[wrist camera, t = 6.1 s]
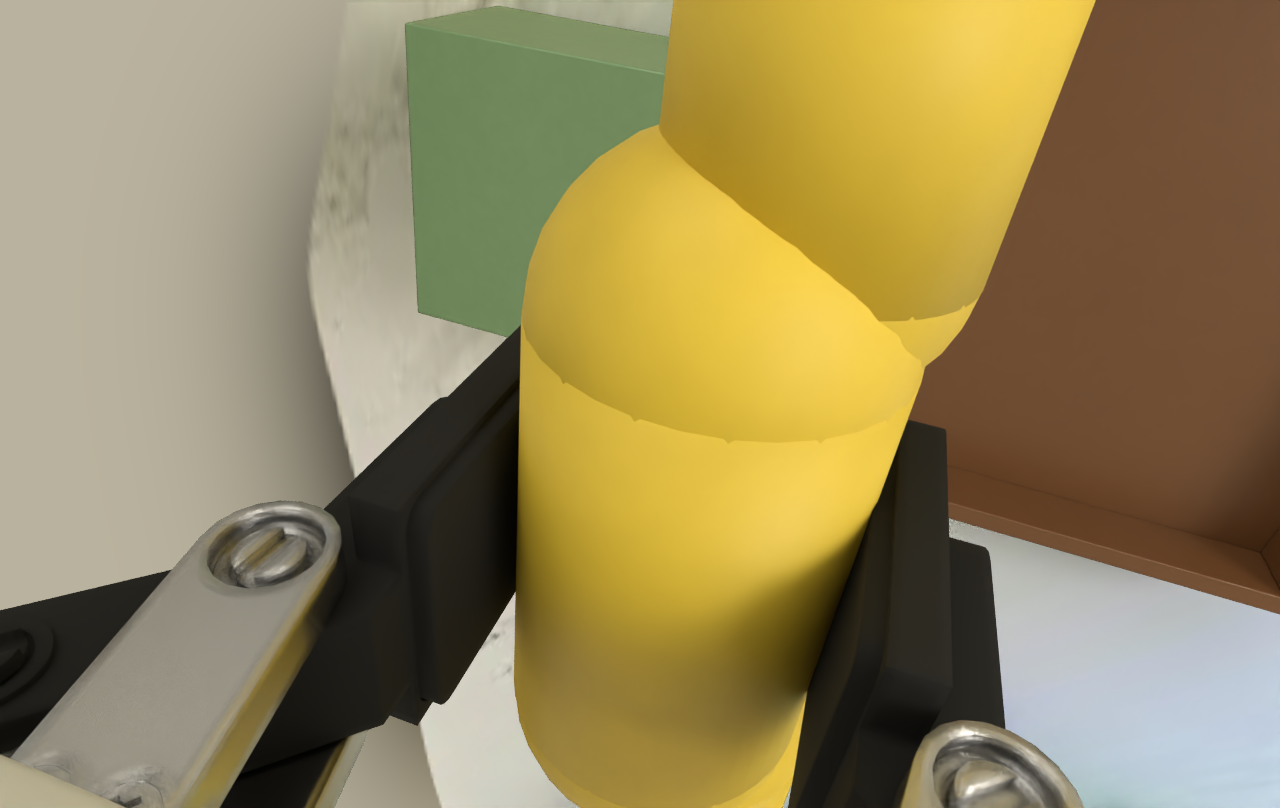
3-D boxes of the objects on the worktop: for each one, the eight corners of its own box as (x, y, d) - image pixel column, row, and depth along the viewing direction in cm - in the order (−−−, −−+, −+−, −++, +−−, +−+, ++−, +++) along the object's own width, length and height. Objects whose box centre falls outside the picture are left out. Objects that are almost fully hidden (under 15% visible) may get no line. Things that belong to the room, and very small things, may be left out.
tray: (893, -309, 17) (887, -343, 15) (1883, -222, 14) (2057, -251, 11) (731, 410, 28) (714, 450, 25) (1262, 558, 24) (1294, 618, 22)
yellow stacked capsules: (641, -455, 6) (399, -829, 3) (1192, -424, 6) (1595, -847, 3) (554, 745, 16) (472, 957, 13) (757, 808, 16) (725, 1047, 12)
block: (497, 5, 23) (403, 22, 19) (759, 53, 21) (718, 83, 17) (493, 255, 27) (416, 313, 23) (710, 311, 26) (669, 382, 22)
